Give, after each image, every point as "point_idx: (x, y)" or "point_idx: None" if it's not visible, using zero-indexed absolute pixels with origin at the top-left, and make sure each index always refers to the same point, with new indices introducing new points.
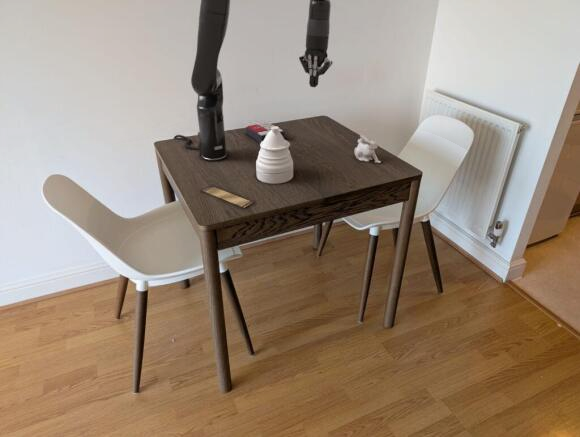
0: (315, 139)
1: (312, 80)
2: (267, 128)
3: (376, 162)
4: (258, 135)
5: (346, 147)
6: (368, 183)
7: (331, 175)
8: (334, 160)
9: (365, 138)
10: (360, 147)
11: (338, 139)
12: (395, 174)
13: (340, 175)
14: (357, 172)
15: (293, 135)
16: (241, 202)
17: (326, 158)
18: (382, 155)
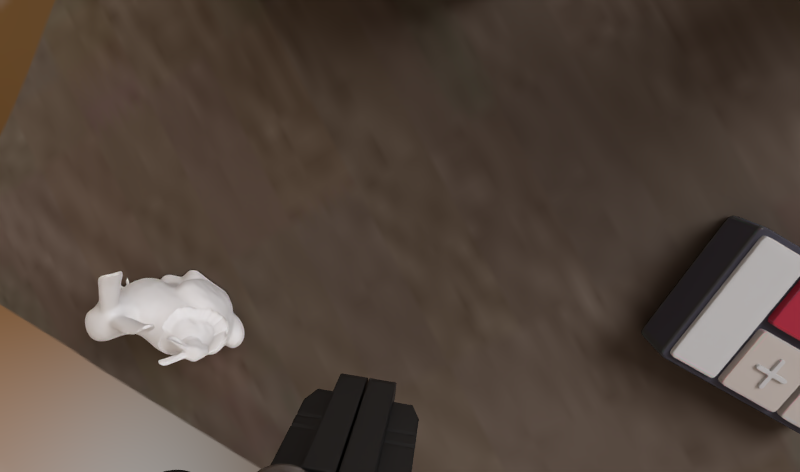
0: (496, 407)
1: (345, 425)
2: (781, 345)
3: (126, 281)
4: (790, 242)
5: (318, 381)
6: (53, 61)
7: (224, 50)
8: (294, 216)
9: (122, 323)
10: (176, 303)
11: None
12: (11, 209)
13: (191, 73)
14: (145, 145)
15: (626, 407)
16: None
17: (338, 219)
18: (145, 368)
